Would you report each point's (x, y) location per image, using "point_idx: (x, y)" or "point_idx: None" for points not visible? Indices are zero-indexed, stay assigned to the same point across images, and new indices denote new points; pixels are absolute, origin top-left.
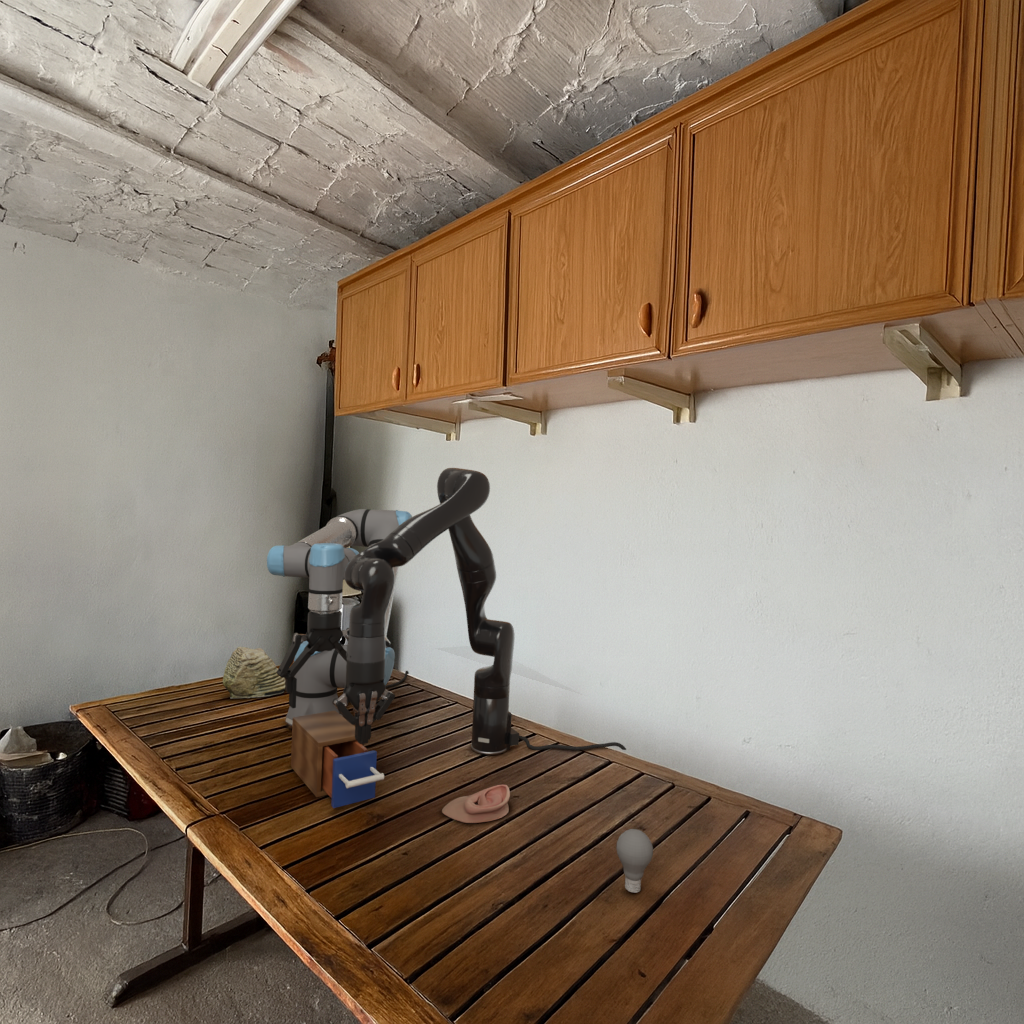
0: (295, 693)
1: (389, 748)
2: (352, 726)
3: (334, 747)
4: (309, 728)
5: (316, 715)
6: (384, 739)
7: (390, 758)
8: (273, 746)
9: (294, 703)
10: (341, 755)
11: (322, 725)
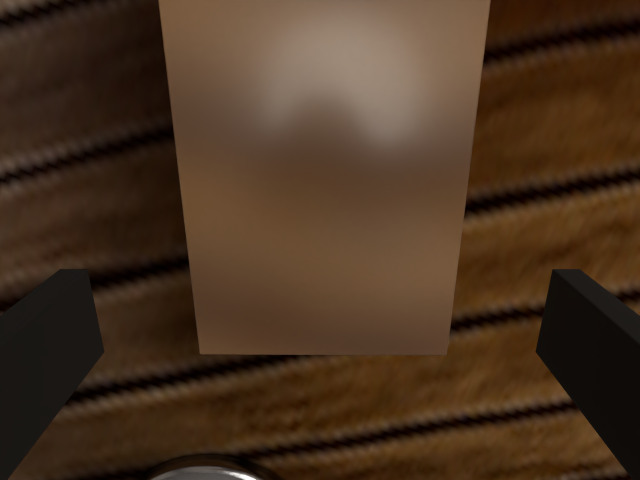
0: (636, 336)
1: (24, 227)
2: (176, 32)
3: None
4: (442, 140)
5: (321, 327)
6: None
7: (41, 137)
8: (388, 416)
9: (586, 285)
10: None
11: (350, 154)
